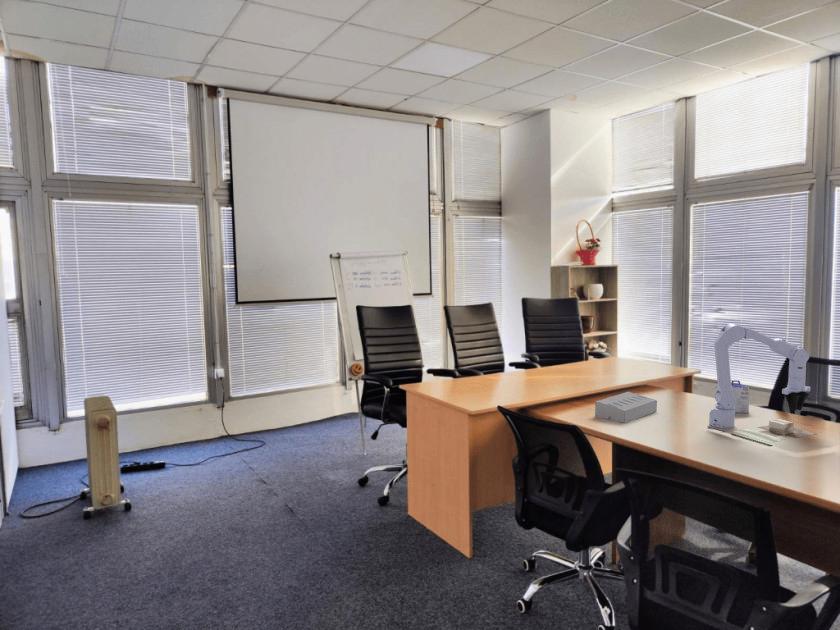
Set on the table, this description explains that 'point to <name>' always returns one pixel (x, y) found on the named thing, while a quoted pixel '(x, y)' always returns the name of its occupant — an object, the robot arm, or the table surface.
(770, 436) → the trap board
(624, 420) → the warehouse
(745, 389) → the ink cartridge box
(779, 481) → the table surface
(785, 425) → the birch block
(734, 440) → the table surface
